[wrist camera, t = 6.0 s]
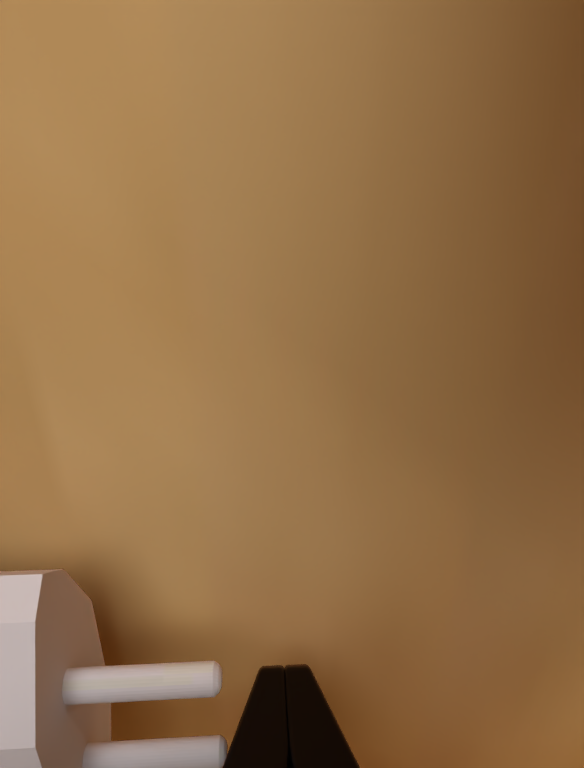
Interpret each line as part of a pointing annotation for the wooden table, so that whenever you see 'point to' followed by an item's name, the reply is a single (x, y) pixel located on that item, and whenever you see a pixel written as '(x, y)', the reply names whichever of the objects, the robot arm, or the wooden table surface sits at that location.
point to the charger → (83, 685)
